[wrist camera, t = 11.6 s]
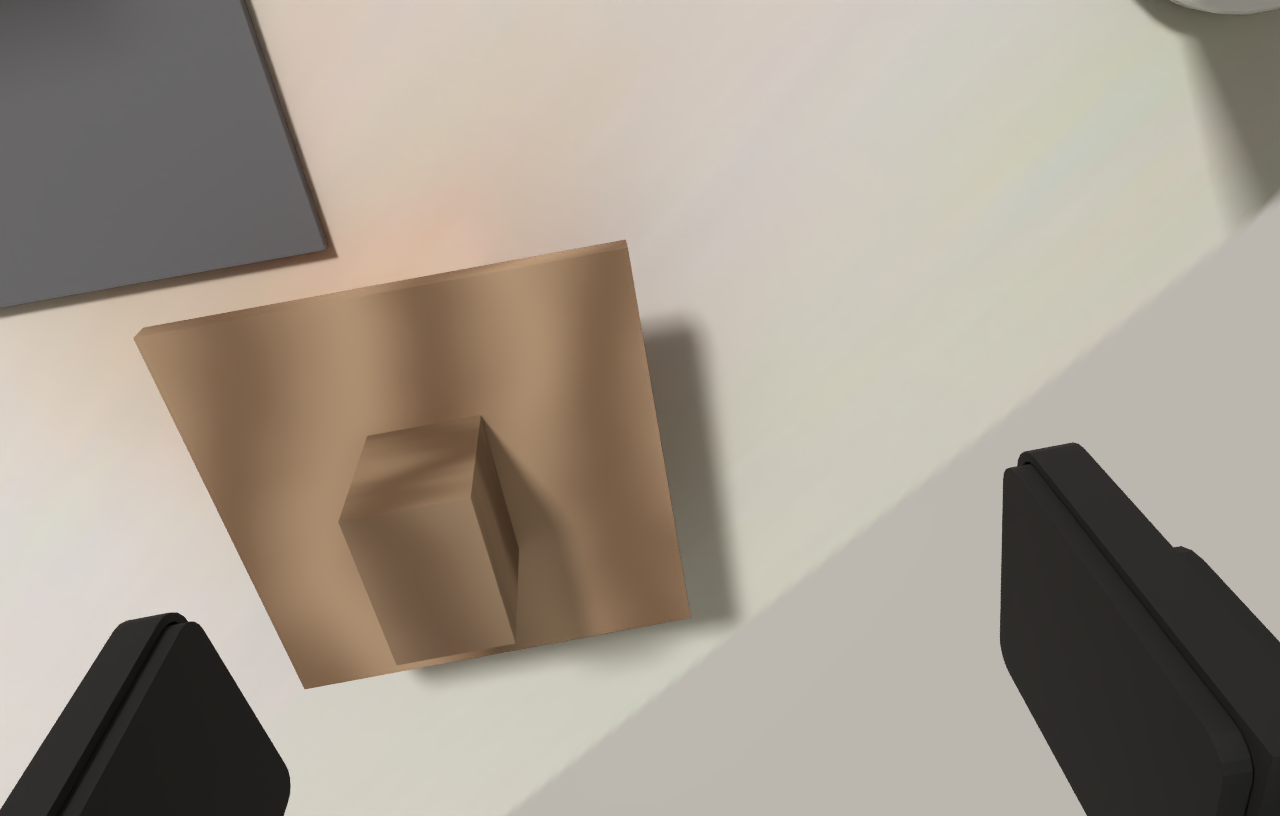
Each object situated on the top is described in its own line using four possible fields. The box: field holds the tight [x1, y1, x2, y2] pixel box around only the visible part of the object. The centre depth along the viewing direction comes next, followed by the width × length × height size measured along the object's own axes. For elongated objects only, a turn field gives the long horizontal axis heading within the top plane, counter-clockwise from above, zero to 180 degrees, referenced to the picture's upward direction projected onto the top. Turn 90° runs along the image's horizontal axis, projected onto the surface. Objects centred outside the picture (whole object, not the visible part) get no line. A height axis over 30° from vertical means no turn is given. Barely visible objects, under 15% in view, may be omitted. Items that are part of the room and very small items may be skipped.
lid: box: [134, 240, 691, 689], centre depth 30 cm, size 16×16×6 cm
